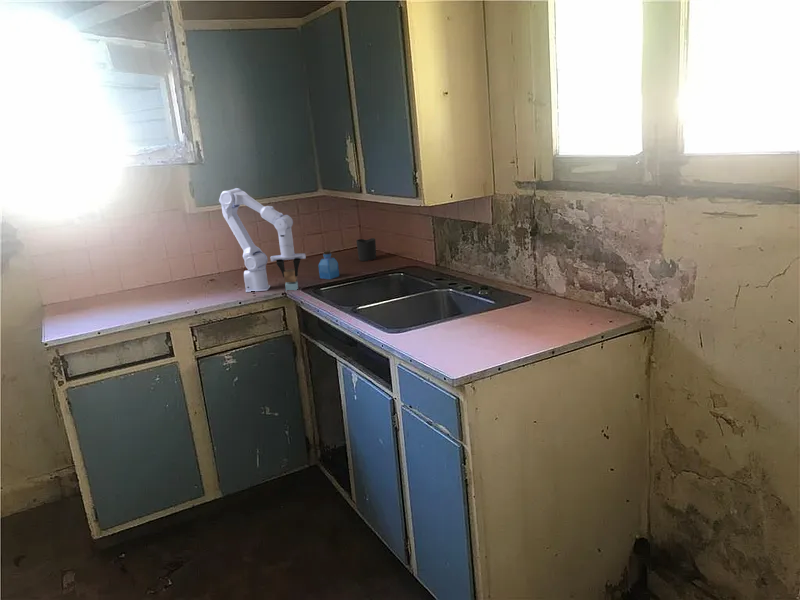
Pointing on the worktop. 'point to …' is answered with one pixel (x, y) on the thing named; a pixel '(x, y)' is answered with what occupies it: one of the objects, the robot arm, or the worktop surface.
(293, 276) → the walnut cube
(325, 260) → the perfume bottle
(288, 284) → the blue block
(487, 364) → the worktop surface
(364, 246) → the pen holder
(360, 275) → the worktop surface
